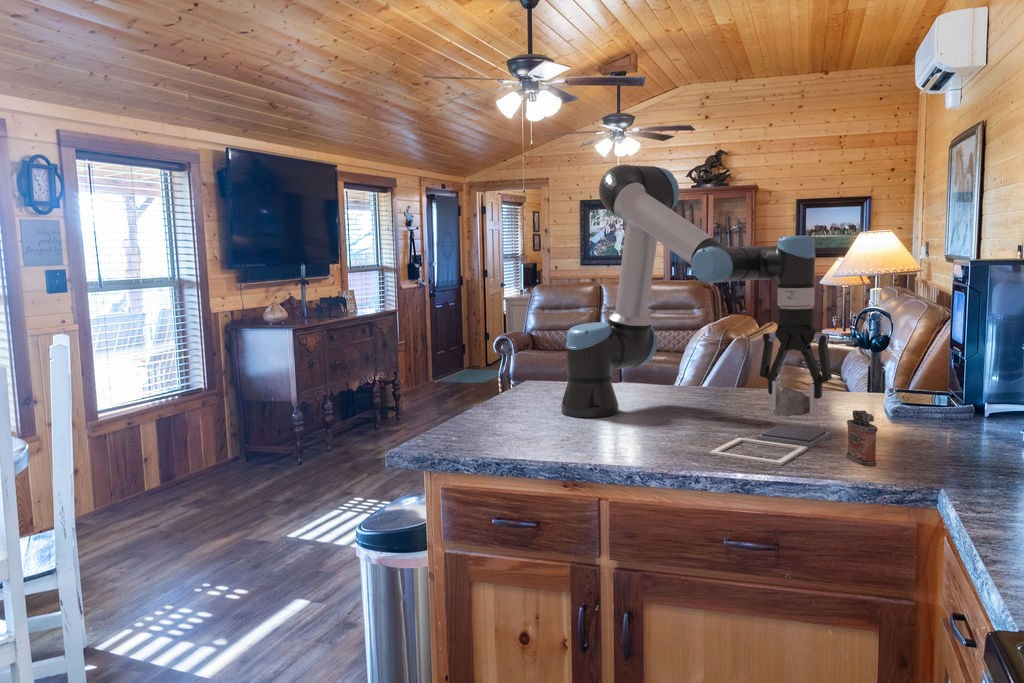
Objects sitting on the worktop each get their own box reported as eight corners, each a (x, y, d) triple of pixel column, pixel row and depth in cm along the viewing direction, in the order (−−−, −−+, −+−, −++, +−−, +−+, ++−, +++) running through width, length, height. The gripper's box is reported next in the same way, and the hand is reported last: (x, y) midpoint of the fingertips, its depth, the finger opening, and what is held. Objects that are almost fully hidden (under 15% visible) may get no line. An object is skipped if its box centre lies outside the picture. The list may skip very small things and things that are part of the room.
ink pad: (756, 440, 168) (756, 434, 168) (776, 430, 177) (777, 424, 177) (812, 448, 161) (812, 441, 160) (830, 436, 170) (830, 430, 170)
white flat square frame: (709, 454, 158) (708, 451, 158) (738, 439, 169) (738, 437, 169) (781, 465, 148) (781, 462, 148) (807, 449, 160) (807, 446, 160)
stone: (802, 420, 162) (802, 393, 161) (765, 415, 167) (765, 389, 167) (820, 412, 169) (821, 386, 168) (785, 408, 174) (785, 383, 174)
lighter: (842, 456, 154) (843, 407, 153) (858, 455, 154) (859, 406, 153) (863, 467, 146) (865, 415, 145) (880, 466, 146) (882, 415, 145)
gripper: (743, 307, 169) (743, 409, 172) (839, 309, 156) (837, 419, 159) (756, 305, 175) (756, 403, 178) (850, 307, 162) (848, 412, 165)
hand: (794, 410), depth 168 cm, fingers closed on stone, 7 cm apart
